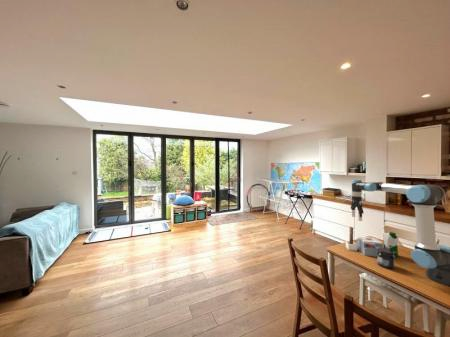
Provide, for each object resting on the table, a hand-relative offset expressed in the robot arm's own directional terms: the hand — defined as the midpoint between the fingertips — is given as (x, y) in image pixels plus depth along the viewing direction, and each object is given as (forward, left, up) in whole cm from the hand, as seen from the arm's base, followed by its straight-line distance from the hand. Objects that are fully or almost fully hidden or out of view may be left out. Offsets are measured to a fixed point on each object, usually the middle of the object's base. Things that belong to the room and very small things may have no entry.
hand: (356, 218), depth 173 cm
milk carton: (-7, -23, -28) cm, 37 cm away
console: (-6, -8, -28) cm, 30 cm away
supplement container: (-29, -9, -28) cm, 41 cm away
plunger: (-6, -8, -27) cm, 29 cm away
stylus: (-2, +5, -28) cm, 28 cm away
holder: (-2, +5, -28) cm, 28 cm away
